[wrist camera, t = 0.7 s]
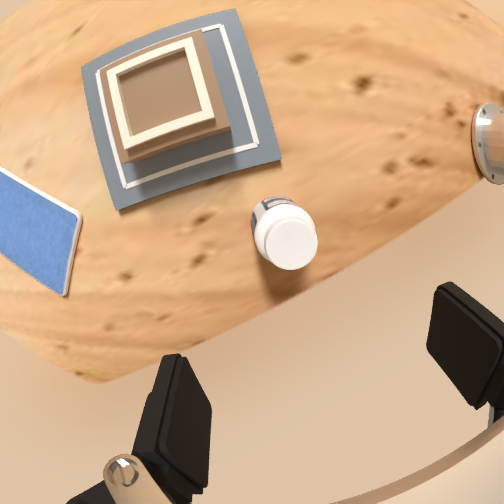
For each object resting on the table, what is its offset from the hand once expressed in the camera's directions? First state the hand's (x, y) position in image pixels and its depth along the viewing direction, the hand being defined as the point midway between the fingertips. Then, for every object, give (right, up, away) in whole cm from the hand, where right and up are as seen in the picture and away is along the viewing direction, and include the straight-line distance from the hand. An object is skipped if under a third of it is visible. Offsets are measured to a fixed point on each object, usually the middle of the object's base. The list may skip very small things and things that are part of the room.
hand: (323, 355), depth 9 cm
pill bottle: (0, +7, +20) cm, 21 cm away
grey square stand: (-11, +19, +15) cm, 26 cm away
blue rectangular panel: (-33, +7, +19) cm, 39 cm away
